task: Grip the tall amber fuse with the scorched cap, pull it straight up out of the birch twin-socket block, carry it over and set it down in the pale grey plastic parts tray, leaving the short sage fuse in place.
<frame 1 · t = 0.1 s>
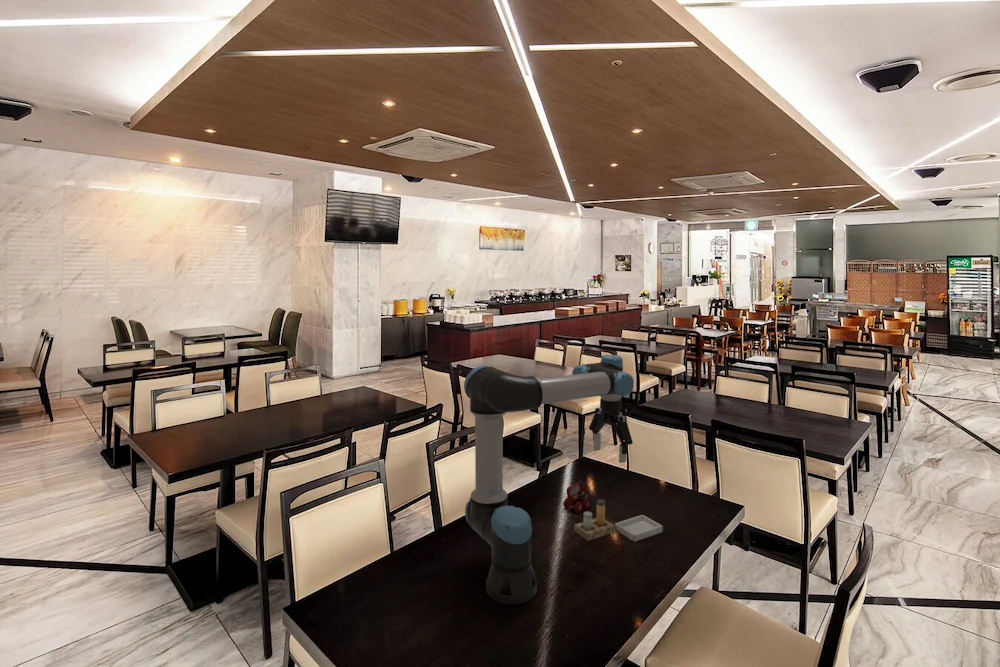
hand: (609, 456, 187), 28 cm above the table, fingers open, 13 cm apart
blown fuse: (600, 529, 189), resting in socket block
toy fire truck: (577, 508, 207), on the table
socket block: (595, 531, 188), on the table
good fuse: (587, 533, 186), resting in socket block
parts tray: (638, 530, 189), on the table
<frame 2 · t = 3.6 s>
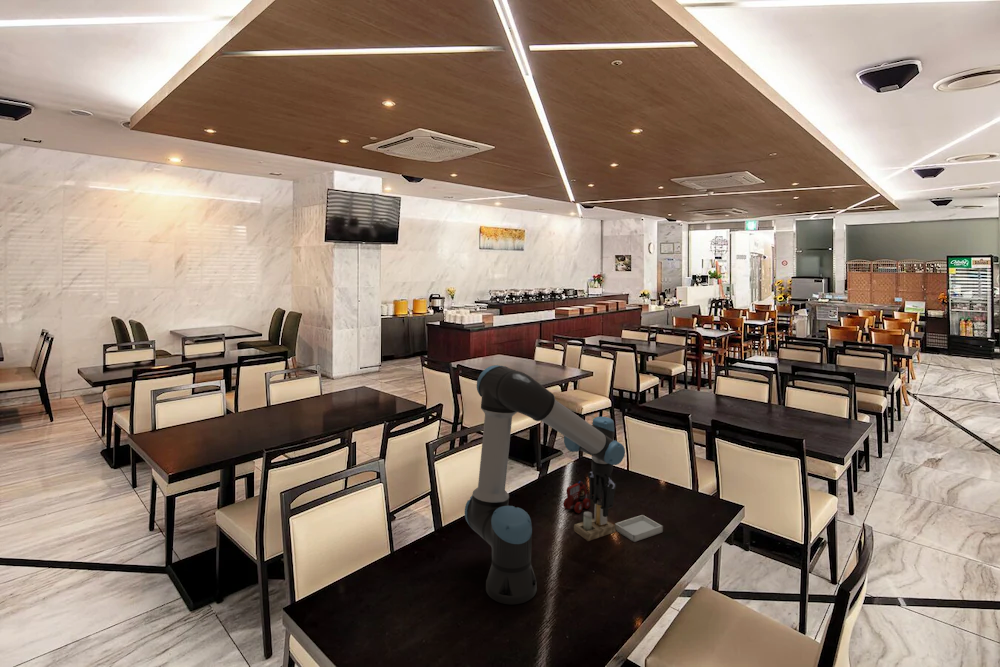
hand: (600, 521, 189), 3 cm above the table, fingers closed on blown fuse, 2 cm apart
blown fuse: (600, 529, 189), resting in socket block, touching gripper
everything else where it was.
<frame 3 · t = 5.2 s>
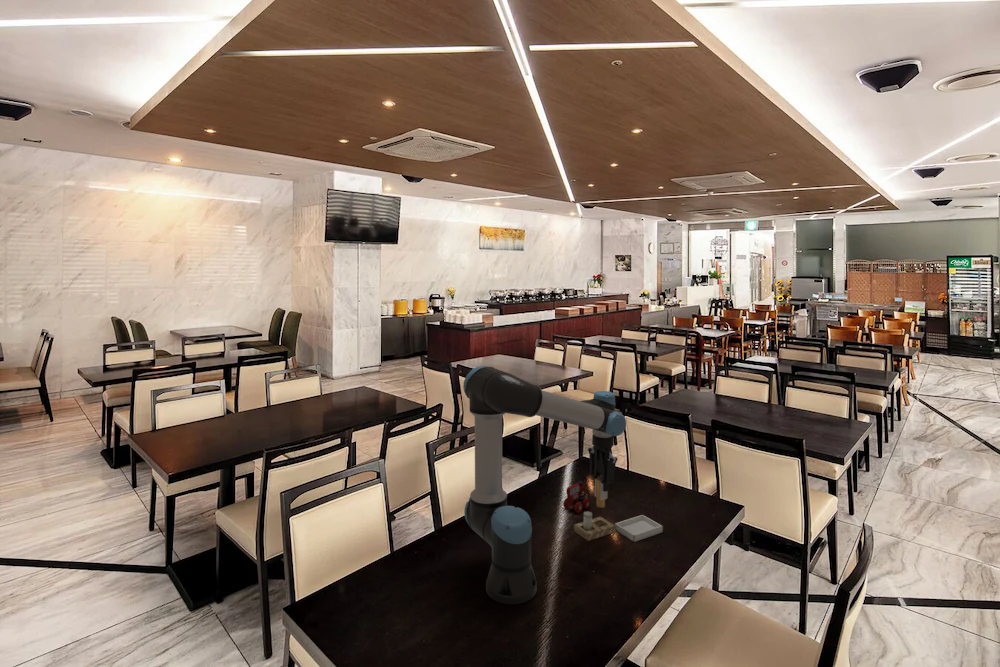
hand: (600, 497, 188), 13 cm above the table, fingers closed on blown fuse, 2 cm apart
blown fuse: (600, 505, 188), point 9 cm above the table, touching gripper
everything else where it was.
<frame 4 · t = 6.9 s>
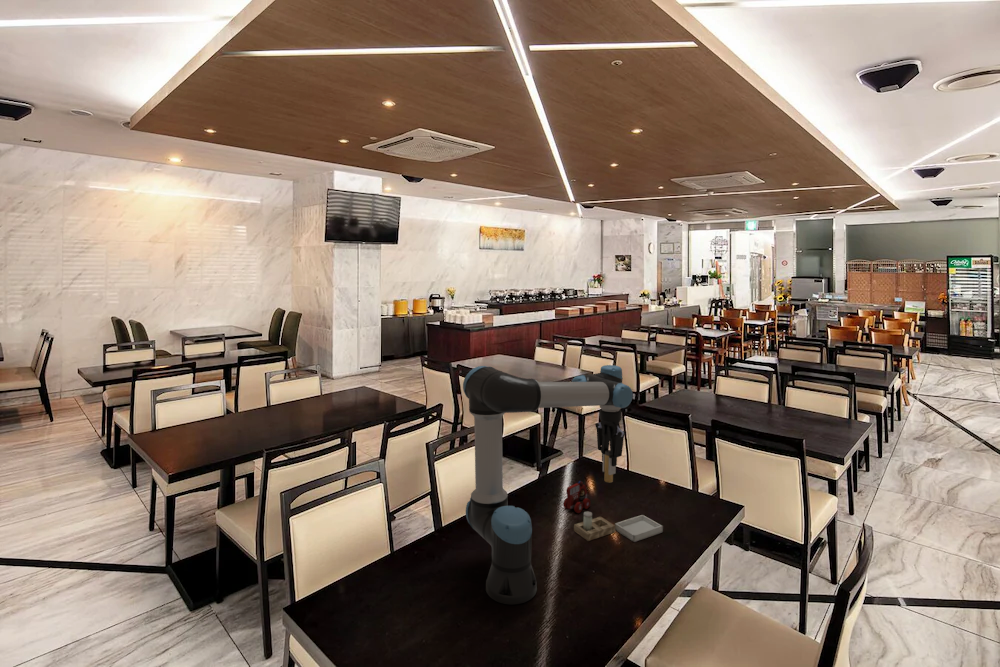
hand: (608, 472, 187), 22 cm above the table, fingers closed on blown fuse, 2 cm apart
blown fuse: (608, 480, 187), point 19 cm above the table, touching gripper
everything else where it was.
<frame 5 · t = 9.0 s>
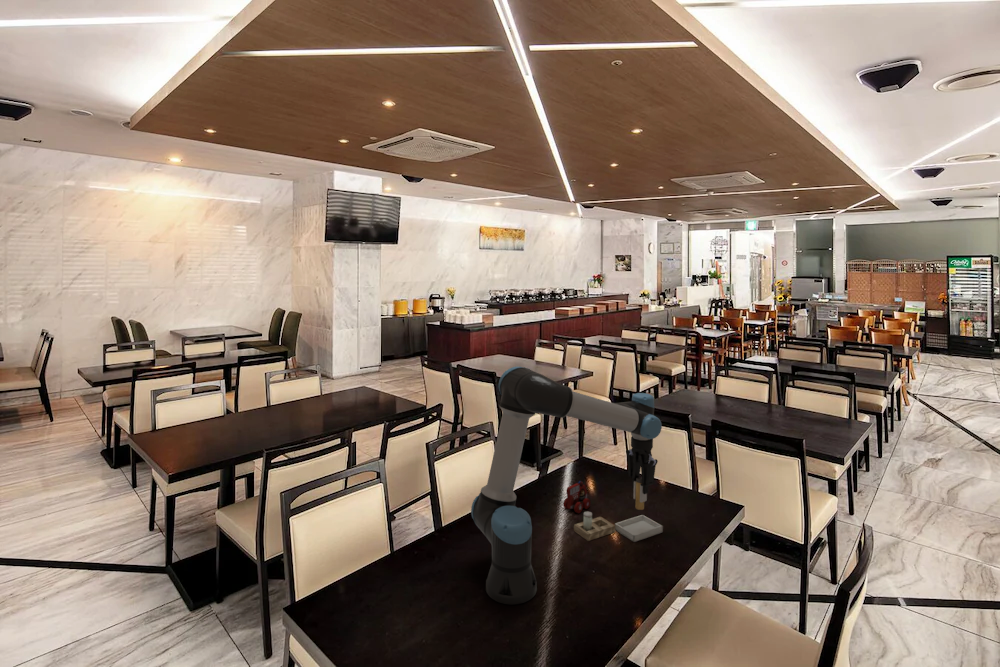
hand: (639, 499, 187), 12 cm above the table, fingers closed on blown fuse, 2 cm apart
blown fuse: (639, 507, 187), point 9 cm above the table, touching gripper
everything else where it was.
when the fingers open (4 cm above the table, at t = 10.7 s): blown fuse stays where it is, resting on parts tray.
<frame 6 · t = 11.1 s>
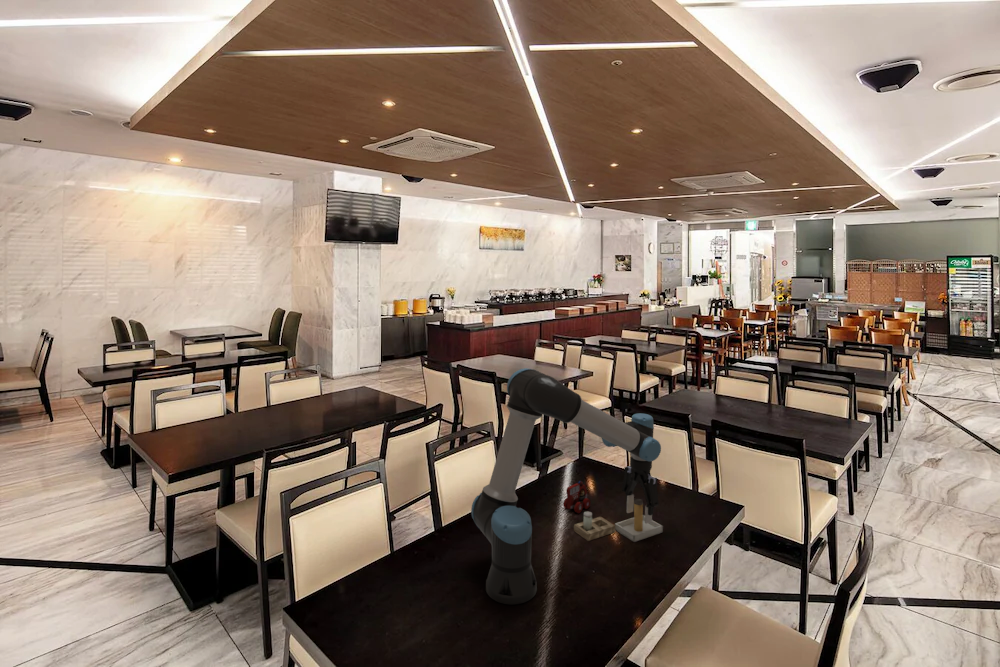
hand: (638, 517, 188), 5 cm above the table, fingers open, 8 cm apart
blown fuse: (638, 529, 188), point 1 cm above the table, touching parts tray
everything else where it was.
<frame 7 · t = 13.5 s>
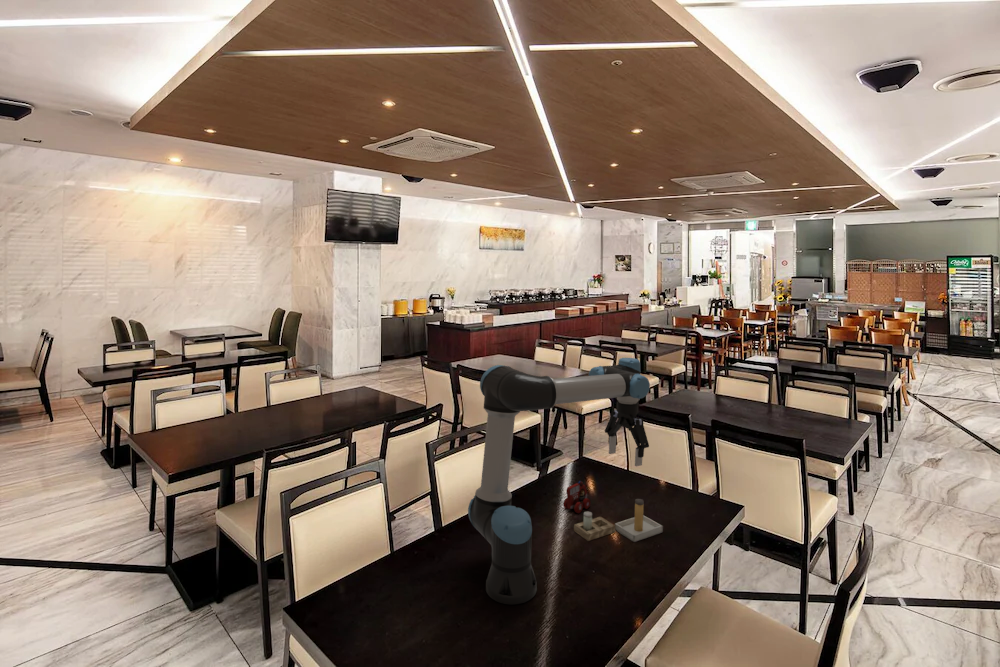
hand: (624, 459, 186), 27 cm above the table, fingers open, 13 cm apart
nothing on the table moved.
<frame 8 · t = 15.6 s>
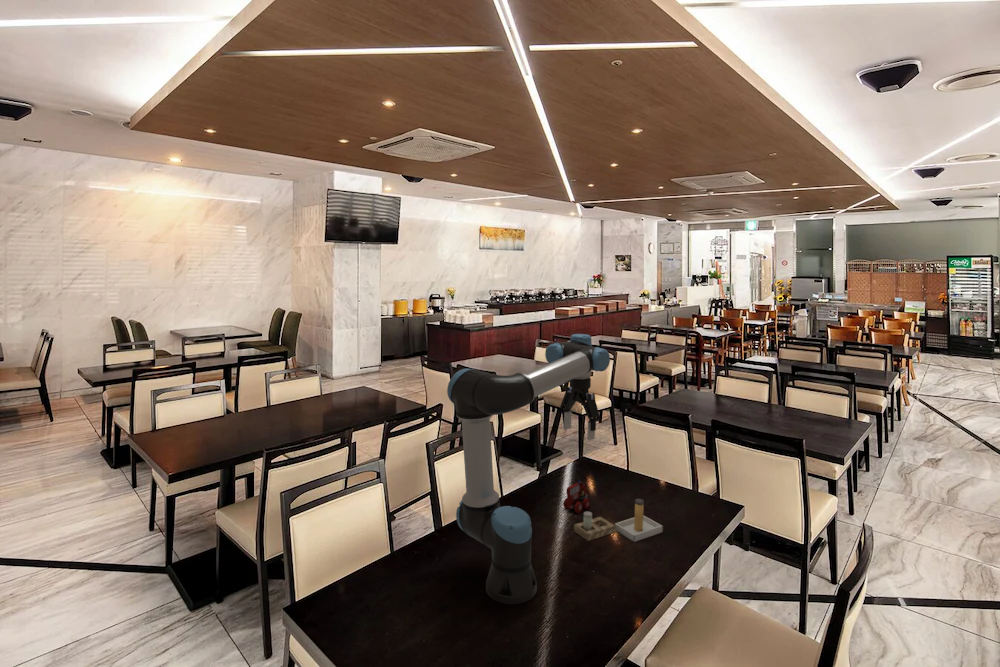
hand: (578, 433, 190), 35 cm above the table, fingers open, 13 cm apart
nothing on the table moved.
at the end: blown fuse inside the target area on the parts tray (0.0 cm from its centre), point 0.6 cm above the parts tray's base; the gripper is holding nothing; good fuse moved 0.0 cm from its start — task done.
